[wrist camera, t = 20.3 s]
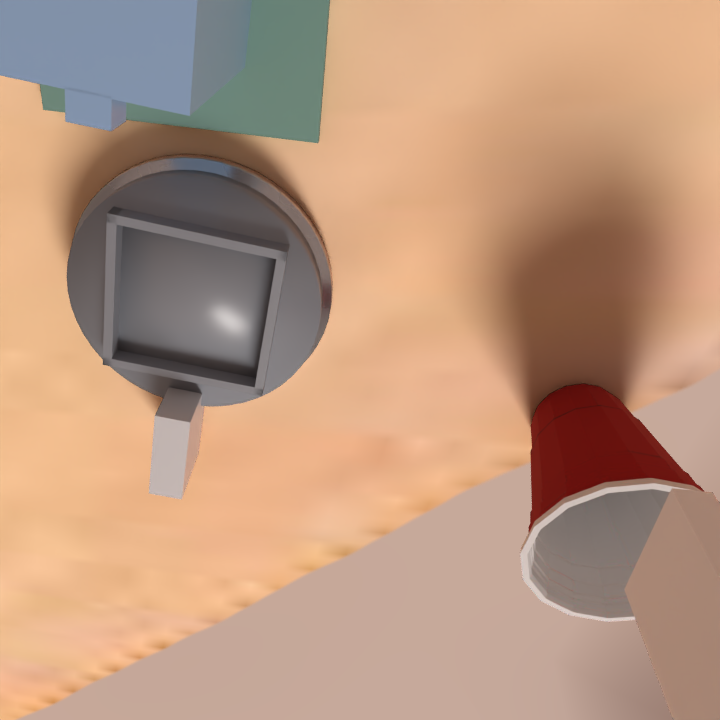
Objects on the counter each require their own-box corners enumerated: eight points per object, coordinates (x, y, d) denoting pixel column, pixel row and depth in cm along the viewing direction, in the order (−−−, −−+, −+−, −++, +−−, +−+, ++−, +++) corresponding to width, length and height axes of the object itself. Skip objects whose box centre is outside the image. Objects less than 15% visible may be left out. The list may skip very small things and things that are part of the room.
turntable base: (61, 138, 36) (55, 141, 35) (344, 172, 36) (343, 176, 36) (89, 375, 44) (84, 382, 43) (321, 401, 44) (320, 408, 43)
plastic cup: (461, 455, 46) (483, 600, 36) (543, 326, 41) (596, 454, 30) (599, 503, 48) (658, 655, 38) (695, 386, 43) (793, 526, 32)
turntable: (345, 202, 36) (340, 232, 32) (287, 470, 46) (278, 517, 42) (77, 142, 35) (40, 166, 31) (77, 430, 44) (48, 475, 41)
